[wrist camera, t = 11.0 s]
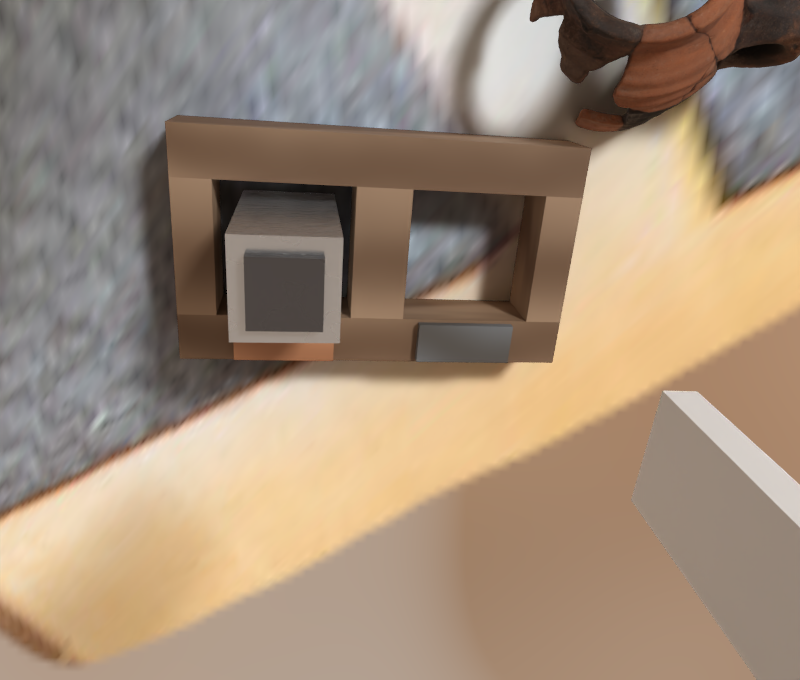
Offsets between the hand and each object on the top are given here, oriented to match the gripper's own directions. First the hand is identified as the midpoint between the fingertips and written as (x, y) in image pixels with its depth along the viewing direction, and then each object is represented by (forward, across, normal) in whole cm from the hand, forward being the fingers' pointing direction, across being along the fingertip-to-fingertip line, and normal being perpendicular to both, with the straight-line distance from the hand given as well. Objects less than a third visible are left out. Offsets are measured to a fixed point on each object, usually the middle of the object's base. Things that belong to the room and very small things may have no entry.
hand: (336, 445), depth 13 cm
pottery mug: (+23, +15, +9) cm, 28 cm away
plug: (+22, -1, -2) cm, 22 cm away
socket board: (+22, +3, -2) cm, 22 cm away
